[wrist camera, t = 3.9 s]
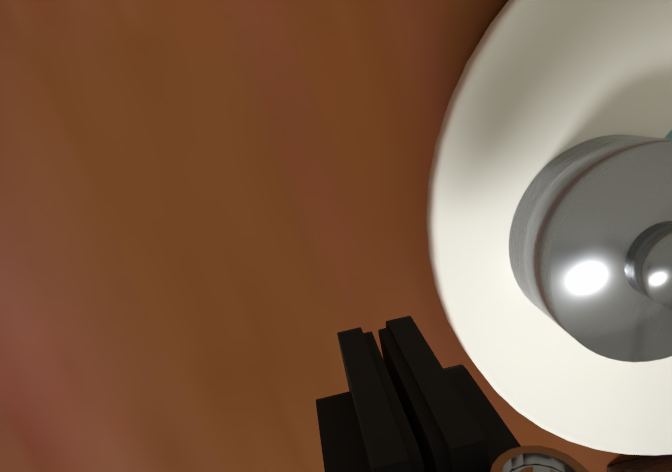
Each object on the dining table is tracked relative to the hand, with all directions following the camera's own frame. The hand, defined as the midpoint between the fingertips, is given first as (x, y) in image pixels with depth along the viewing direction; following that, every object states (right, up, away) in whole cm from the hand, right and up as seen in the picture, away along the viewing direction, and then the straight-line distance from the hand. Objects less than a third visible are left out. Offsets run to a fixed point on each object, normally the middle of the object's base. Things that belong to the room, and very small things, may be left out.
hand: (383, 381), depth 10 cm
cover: (+9, +3, +6) cm, 11 cm away
